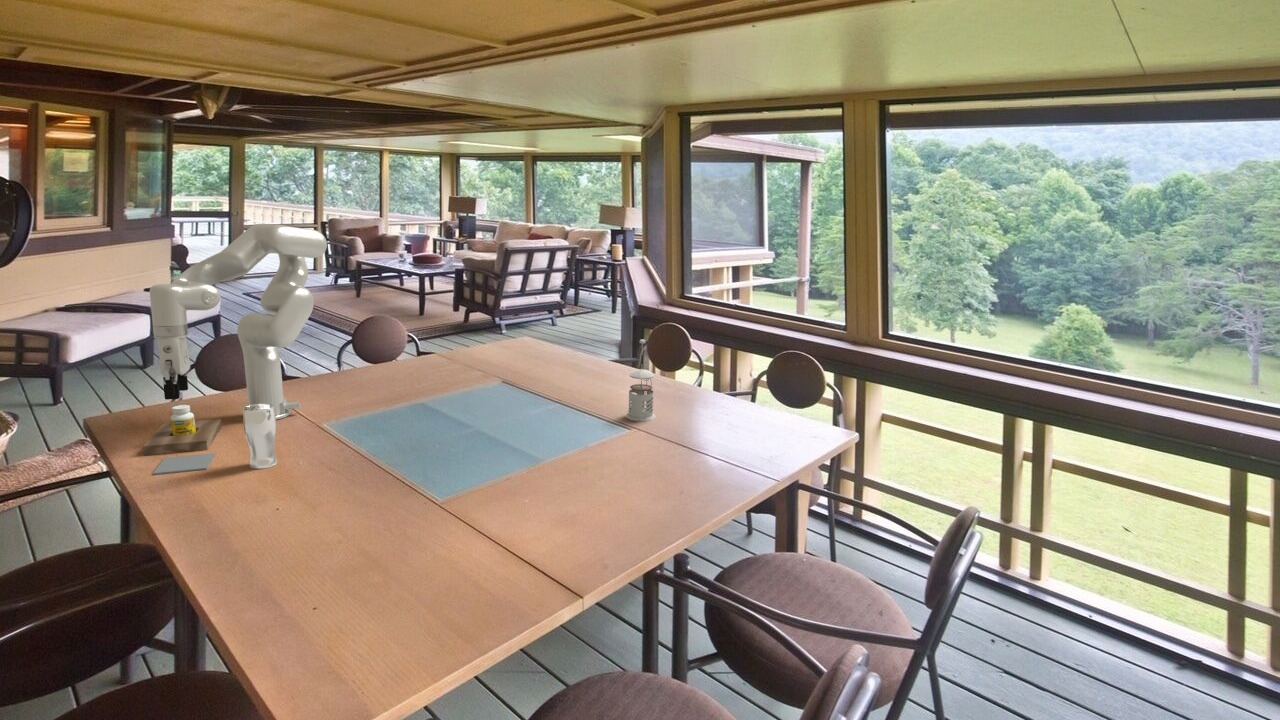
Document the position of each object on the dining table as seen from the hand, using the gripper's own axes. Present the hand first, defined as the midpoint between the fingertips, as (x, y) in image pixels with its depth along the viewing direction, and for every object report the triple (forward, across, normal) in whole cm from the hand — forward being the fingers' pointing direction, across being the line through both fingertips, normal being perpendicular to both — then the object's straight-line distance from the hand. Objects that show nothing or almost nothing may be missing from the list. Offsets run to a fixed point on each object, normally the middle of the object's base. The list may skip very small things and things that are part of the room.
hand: (176, 394), depth 186 cm
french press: (+11, -14, -129) cm, 130 cm away
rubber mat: (+13, -19, -5) cm, 24 cm away
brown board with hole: (+13, +1, -1) cm, 13 cm away
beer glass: (+13, -25, -23) cm, 37 cm away
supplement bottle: (+13, +1, -1) cm, 13 cm away
